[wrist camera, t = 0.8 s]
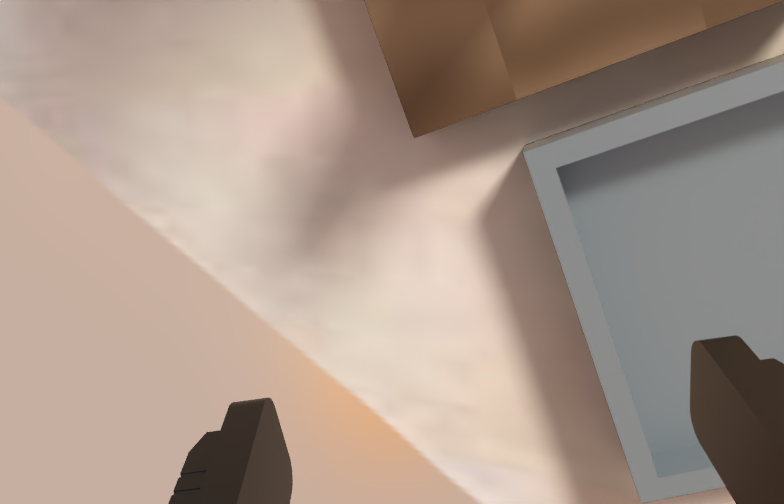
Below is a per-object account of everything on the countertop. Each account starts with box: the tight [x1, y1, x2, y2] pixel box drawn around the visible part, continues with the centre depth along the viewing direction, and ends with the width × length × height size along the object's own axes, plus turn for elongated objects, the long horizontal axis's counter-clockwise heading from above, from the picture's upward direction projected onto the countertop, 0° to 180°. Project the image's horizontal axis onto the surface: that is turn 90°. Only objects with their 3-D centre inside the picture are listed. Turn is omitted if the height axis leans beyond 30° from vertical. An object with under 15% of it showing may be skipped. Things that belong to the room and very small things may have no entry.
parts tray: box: [523, 54, 784, 503], centre depth 27 cm, size 16×16×3 cm
